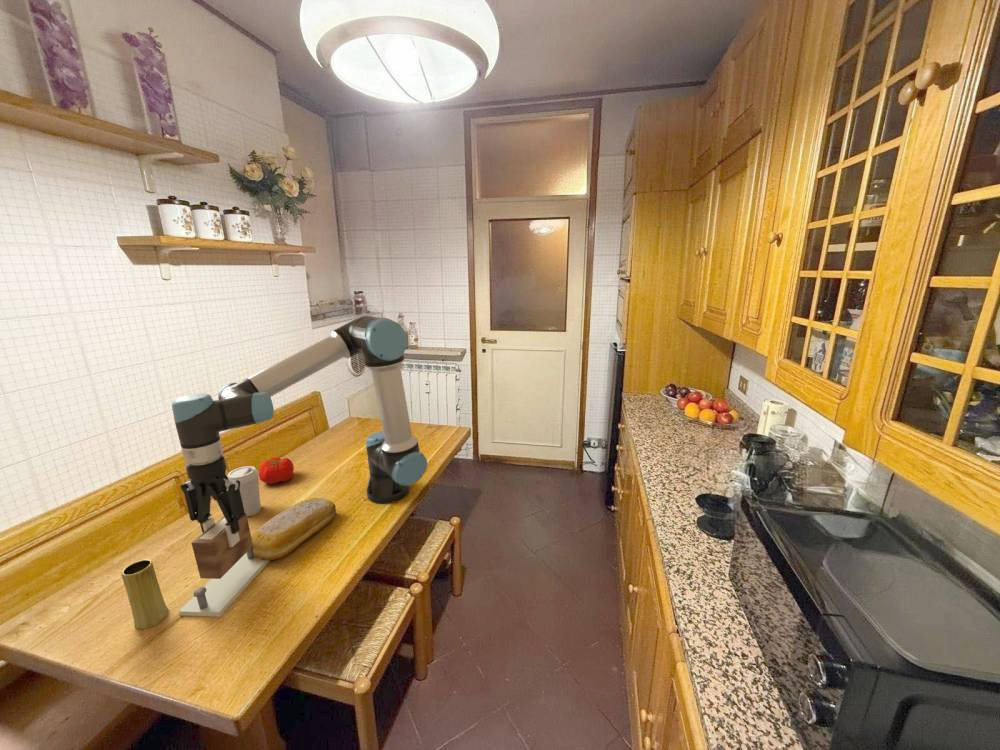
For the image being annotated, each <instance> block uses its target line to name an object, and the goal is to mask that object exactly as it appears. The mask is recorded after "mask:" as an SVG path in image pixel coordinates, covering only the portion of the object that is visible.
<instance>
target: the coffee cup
mask: <svg viewBox="0 0 1000 750" xmlns="http://www.w3.org/2000/svg"><path fill="white" fill-rule="evenodd" d="M226 476H227V477H228V479H229V480H230V481H233V482H235V481H237V480H239V481H240V493H241V498H242V502H243V507H244V511H245V513H246V514H247V518H249V517H253V516H254V515H256V514H258V513H259V512H260V511H261V509H262V506H261V495H260V484H259V470H258V469H257V468H256V467H255V466H251V465H246V466H240V467H237V468H235V469H232V470H231V471H229V472H228V474H226Z"/></svg>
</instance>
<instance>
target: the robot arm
mask: <svg viewBox="0 0 1000 750" xmlns="http://www.w3.org/2000/svg"><path fill="white" fill-rule="evenodd" d="M407 348H408V336H407V332H406V330H405V329H404V327H403V326H402V325H401V324H399V323H398V322H396V321H395V320H393V319H391V318H388V317H377V316H376V317H375V316H370V315H366V316H360V317H357V318H355V319H353V320H351V321H349V322H347V323H345V324H343V325H342V326H339V327H337V328H336V329H333V330H332V331H330V335H329V336H327V337H325V338H323V339H321V340H319V341H317V342H315V343H314V344H312V345H310V346H308V347H306V348H304V349H302V350H299V351H298V352H296V353H294V354H292V355H291V356H288V357H286V358H284V359H282V360H280V361H278V362H276V363H274V364H272V365H270V366H268V367H267V368H264V369H263V370H261V371H259V372H257V373H255V374H252V375H251V376H250V375H249V377H247V378H244V379H242V380H241V381H238V382H231V383H228V384H225V385H224V386H222V387H221V388H220V390H219V391H218V395H217V399H216V400H214V399H213V398H212V395H210V394H209V393H198V394H197V393H193V394H192V393H191V394H188V395H183V396H179V397H178V398H176V399H175V400H174V401H173V402H172V403H171V407H172V414H173V420H174V421H173V422H174V425H175V429H176V432H177V436H178V439H179V445H180V449H181V451H182V457H183V460H184V462H185V463H186V464H185V469H186V474H187V477H188V479H189V480H187V481H186V482H184V483H183V484H181V485H180V489H181V490H182V492H183V493H184V498H185V503H186V506H187V512H188V515H189V519H190V521H197V523H199V524H200V525H199V526H200V529H201V533H202V534H203V533H204V532H205V531H206V530H208V529H209V528H210V527H211V526H213V525H214V524H215V523H216V522H215V519H214V517H212V515H213V514H212V513H211V498H212V499H213V501H216V503H217V504H218V506H219V508H220V511H221V512H222V515H223V517H225V519H226V521H227V523H225V524H224V525H225V529H226V534H227V538H228V542H229V547H233V546H234V545H235V544H236V543H238V542H239V541H240V538H239V534H238V531H239V530H240V528H239V523H238V520H240V519H241V518H242V517H243V516H244V515H245V511H244V507H243V502H242V498H241V493H240V481H239V480H237V481H235V482H233V481H230V480H229V479H228V477H227V474H226V472H227V463H226V458H225V455H223V454H224V448H223V444H222V440H221V436H220V432H223V431H225V432H226V431H228V430H233V429H238V428H241V427H242V428H243V427H247V426H248V427H249V426H252V425H257V424H261V423H265V422H268V421H271V420H273V418H274V417H275V416H274V415H275V409H274V403H273V401H272V398H271V397H273V396H275V395H277V394H279V393H280V392H283V391H284V390H286V389H288V388H290V387H292V386H293V385H296V384H297V383H299V382H300V381H303V380H305V379H306V378H308V377H310V376H312V375H314V374H316V373H317V372H319V371H321V370H323V369H325V368H327V367H329V366H330V365H332V364H334V363H336V362H338V361H340V360H341V359H343V358H344V359H350V358H352V357H353V356H356V355H359V354H362V357H363V362H364V366H365V368H367V369H369V370H370V371H371V376H372V381H373V385H374V386H373V387H374V391H375V394H376V395H375V396H376V400H377V401H376V402H377V406H378V412H379V416H380V420H381V421H380V422H381V426H382V430H381V431H380V430H379V431H376V432H373V433H371V434H370V435H368V436H367V437H366V440H365V447H366V448H365V449H366V455H367V462H368V464H367V465H368V470H369V478H368V482H367V487H366V497H367V499H368V501H370V502H372V503H375V504H390V503H394V502H398V501H400V500H402V499H404V498H405V497H406V496H408V495H409V493H410V490H411V485H414V484H416V483H417V482H419V480H421V479H422V477H423V476H424V474H425V473H426V471H427V468H428V459H427V457H426V456H425V454H424V453H423V452H420V446H419V445H420V444H419V440H418V437H416V436H415V435H413V434H412V432H413V431H412V428H411V422H410V416H409V409H408V404H407V398H406V397H407V396H406V393H405V392H406V391H405V387H404V385H405V384H404V381H403V374H402V369H401V365H402V364H403V363H404V362H405V356H404V354H405V351H406V350H407Z"/></svg>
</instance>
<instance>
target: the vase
mask: <svg viewBox="0 0 1000 750" xmlns="http://www.w3.org/2000/svg"><path fill="white" fill-rule="evenodd" d="M121 578H122V580H123V584H124V587H125V590H126V594H127V598H128V602H129V605H130V609H131V613H132V618H133V622H134V627H135V628H136V629H139V630H144V629H150V628H151V627H153V626H156V625H157V624H160V623H161V622H162V621H163V620H165V618H166V617H167V616H168V614H169V610H170V609H169V608H168V606H167V605H166V602H165V600H164V597H163V594H162V589H161V587H160V583H159V582H158V578H157V573H156V570H155V568H154V564H153V561H152V560H151V559H141V560H137V561H134V562H132V563H130V564H128V565H127V566H126V567H124V568H123V569H122V571H121Z"/></svg>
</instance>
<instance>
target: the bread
mask: <svg viewBox="0 0 1000 750" xmlns="http://www.w3.org/2000/svg"><path fill="white" fill-rule="evenodd" d="M336 507H337V506H336V504H335V503H334V502H333V501H331V500H329V499H325V498H323V497H322V498H321V497H310V498H308V499H305V500H302V501H299V502H298V503H295V504H292V505H291V506H289V507H287V508H286V509H285V510H283V511H281V512H280V513H278V514H276V515H274V516H273V517H272V518H270V519H269V520H268V521H267V522H265V523H264V524H263V525H261V526H260V527H259V528H258V529H256V530H255V531H254V532H253V533H252V535H251V538H252V543H253V546H252V548H253V549H252V551H253V554H254V555H255V556H257V557H258V558H260V559H262V560H264V559H265V560H270V561H272V560H278V559H281V558H284V557H285V556H286V555H287V556H288V554H289V553H291V552H293V551H295V549H296V548H297V547H298V546H300V545H301V544H302V543H303V542H305V541H306V540H307V539H309V538H310V537H311V536H312V535H314V534H315V533H317V532H319V531H320V530H322V529H323V528H324V527H325V526H327V525H328V524H329V523H330V522H332V520H333V519H335V517H336V516H337V515H336V514H337V509H336Z"/></svg>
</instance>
